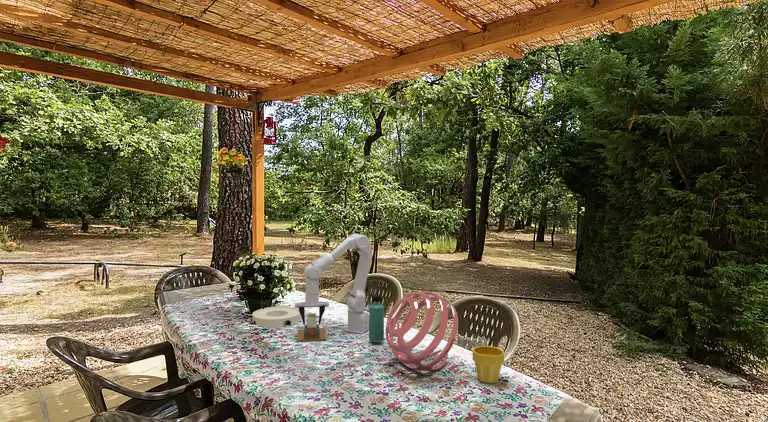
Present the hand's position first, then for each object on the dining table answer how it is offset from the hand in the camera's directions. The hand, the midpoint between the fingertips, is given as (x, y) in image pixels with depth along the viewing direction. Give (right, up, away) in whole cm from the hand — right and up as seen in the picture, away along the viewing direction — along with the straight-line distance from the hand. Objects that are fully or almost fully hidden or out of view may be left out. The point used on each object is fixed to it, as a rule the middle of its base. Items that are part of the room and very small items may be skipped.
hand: (311, 323), depth 182 cm
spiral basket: (+44, -7, -30) cm, 54 cm away
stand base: (0, -5, 0) cm, 5 cm away
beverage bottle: (+28, -6, -8) cm, 30 cm away
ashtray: (-21, -5, +23) cm, 32 cm away
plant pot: (+67, -8, -41) cm, 79 cm away
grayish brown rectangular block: (0, -4, 0) cm, 4 cm away
